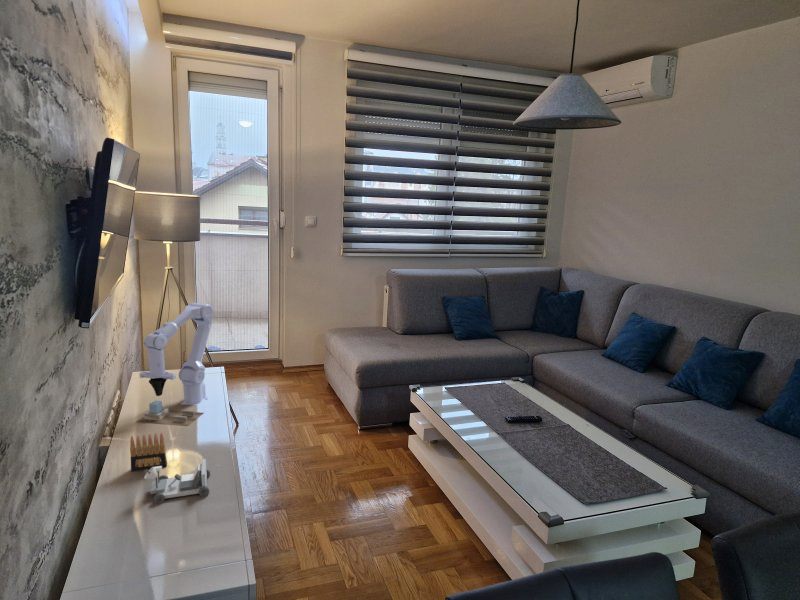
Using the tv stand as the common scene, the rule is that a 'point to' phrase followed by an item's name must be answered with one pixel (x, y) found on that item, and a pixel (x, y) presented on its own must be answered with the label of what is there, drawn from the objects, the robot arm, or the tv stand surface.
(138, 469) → the ammunition clip
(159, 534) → the tv stand surface
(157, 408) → the plug
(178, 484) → the toy car
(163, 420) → the brown tray
